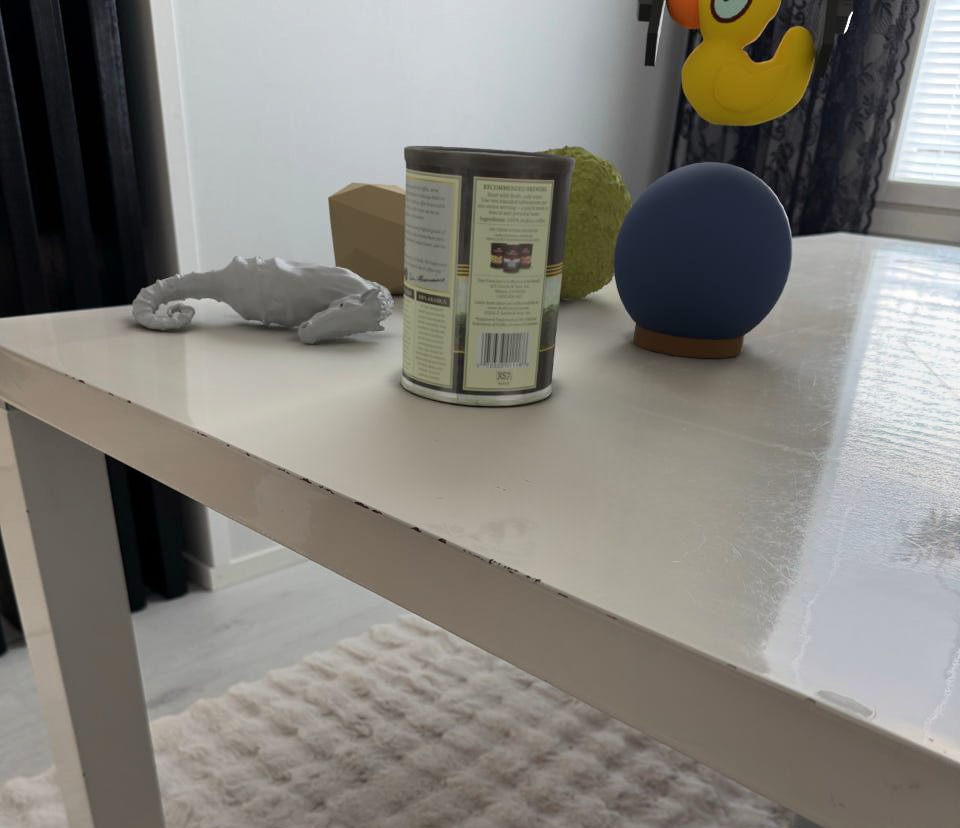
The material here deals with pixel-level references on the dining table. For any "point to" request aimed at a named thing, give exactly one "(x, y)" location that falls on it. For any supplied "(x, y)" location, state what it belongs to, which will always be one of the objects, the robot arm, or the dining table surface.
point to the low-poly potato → (370, 232)
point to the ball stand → (702, 260)
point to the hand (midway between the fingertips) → (736, 55)
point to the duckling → (741, 62)
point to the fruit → (591, 222)
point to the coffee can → (482, 272)
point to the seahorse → (274, 297)
